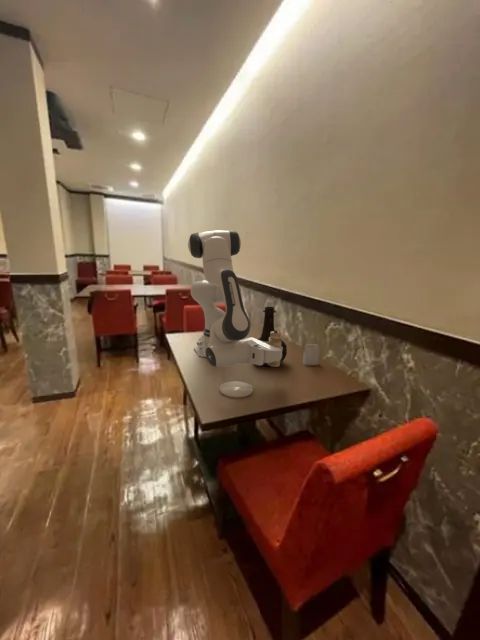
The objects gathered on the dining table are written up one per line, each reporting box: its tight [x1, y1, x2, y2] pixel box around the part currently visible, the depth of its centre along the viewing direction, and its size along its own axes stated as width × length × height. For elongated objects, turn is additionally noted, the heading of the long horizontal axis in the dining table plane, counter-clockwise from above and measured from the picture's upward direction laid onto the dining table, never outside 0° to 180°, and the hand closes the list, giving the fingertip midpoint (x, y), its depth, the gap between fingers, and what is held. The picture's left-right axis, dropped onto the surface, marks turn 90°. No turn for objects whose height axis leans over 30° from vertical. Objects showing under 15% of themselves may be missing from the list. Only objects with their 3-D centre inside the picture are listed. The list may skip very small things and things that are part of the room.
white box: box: [302, 343, 320, 366], centre depth 153 cm, size 4×7×10 cm, turn 96°
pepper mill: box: [268, 329, 283, 368], centre depth 124 cm, size 5×5×14 cm
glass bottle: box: [257, 306, 288, 366], centre depth 151 cm, size 18×18×28 cm
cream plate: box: [219, 380, 254, 399], centre depth 121 cm, size 13×13×1 cm
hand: (276, 345), depth 124 cm, fingers closed on pepper mill, 5 cm apart
